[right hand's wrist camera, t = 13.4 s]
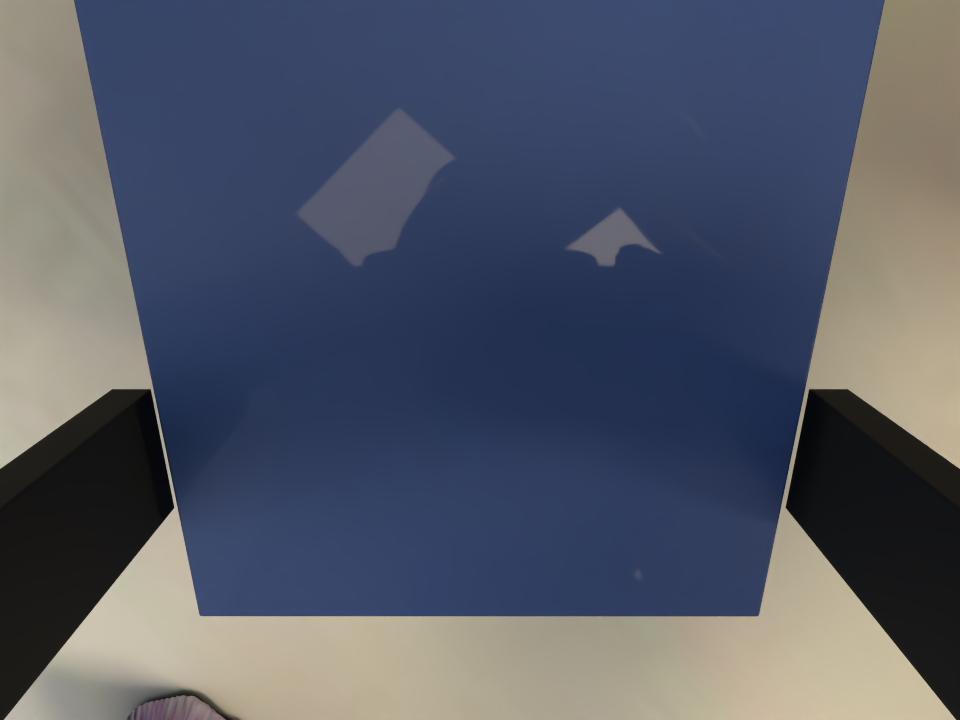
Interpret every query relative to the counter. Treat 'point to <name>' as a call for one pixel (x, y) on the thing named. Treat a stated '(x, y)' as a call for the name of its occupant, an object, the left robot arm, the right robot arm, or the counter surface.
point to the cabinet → (479, 289)
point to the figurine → (175, 710)
